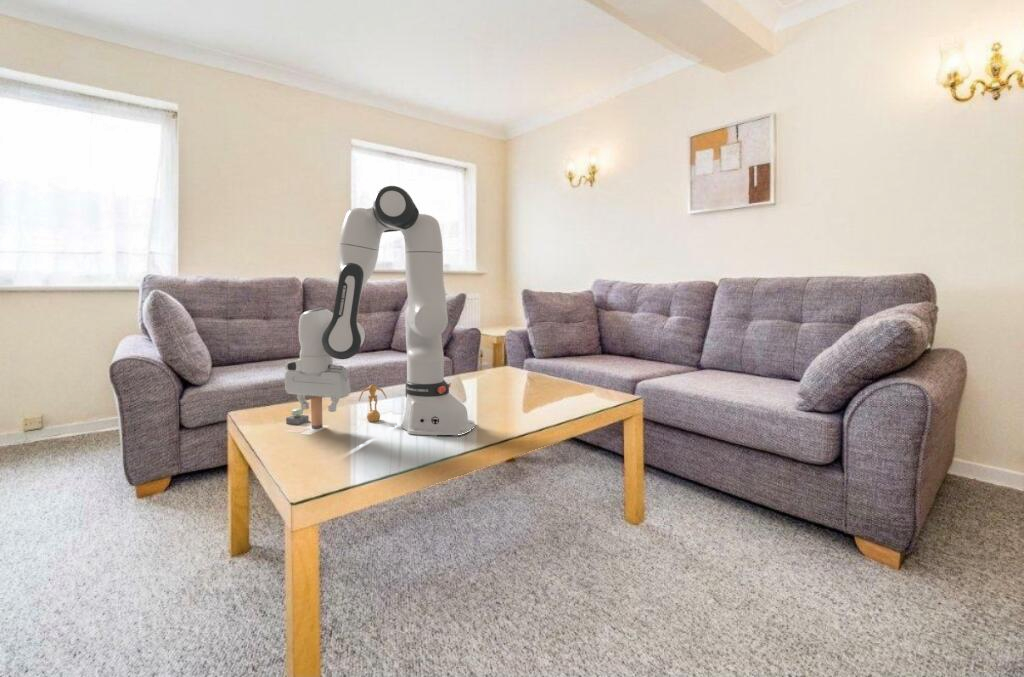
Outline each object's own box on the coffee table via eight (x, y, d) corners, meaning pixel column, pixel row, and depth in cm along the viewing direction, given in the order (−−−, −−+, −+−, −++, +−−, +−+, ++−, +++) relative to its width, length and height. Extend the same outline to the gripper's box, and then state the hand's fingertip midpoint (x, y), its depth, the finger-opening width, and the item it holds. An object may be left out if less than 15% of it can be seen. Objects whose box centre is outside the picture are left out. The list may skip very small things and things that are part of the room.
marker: (324, 426, 138) (324, 397, 137) (318, 429, 135) (317, 399, 134) (316, 425, 139) (315, 396, 138) (309, 428, 136) (308, 398, 135)
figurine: (360, 425, 142) (359, 387, 141) (358, 420, 148) (358, 383, 146) (388, 423, 145) (387, 385, 144) (385, 418, 151) (385, 381, 150)
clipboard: (335, 426, 141) (335, 418, 141) (308, 438, 129) (308, 430, 129) (296, 421, 145) (296, 414, 144) (267, 433, 133) (266, 425, 133)
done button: (305, 417, 143) (305, 408, 143) (298, 419, 140) (297, 411, 139) (296, 416, 144) (296, 407, 143) (289, 418, 141) (289, 410, 140)
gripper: (354, 364, 135) (355, 410, 137) (295, 360, 141) (297, 404, 143) (340, 367, 129) (342, 416, 131) (279, 364, 135) (282, 410, 137)
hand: (318, 410), depth 137 cm, fingers open, 8 cm apart
